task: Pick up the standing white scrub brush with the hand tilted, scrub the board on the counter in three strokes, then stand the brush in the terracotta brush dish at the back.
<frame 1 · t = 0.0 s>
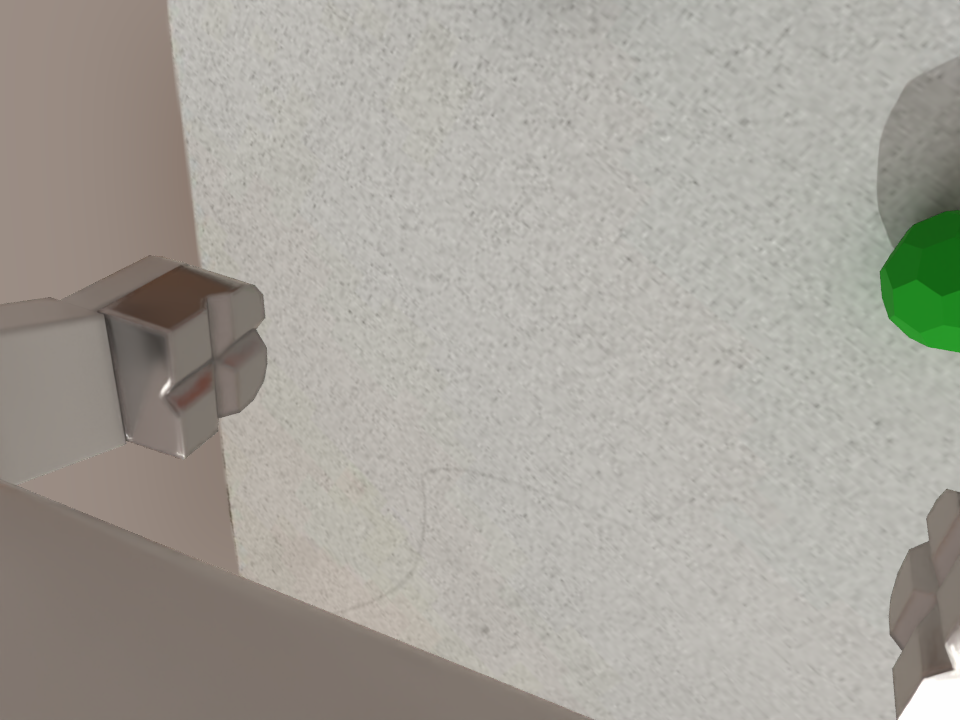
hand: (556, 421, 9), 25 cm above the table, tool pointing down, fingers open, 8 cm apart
polyhedron: (950, 254, 30), on the table
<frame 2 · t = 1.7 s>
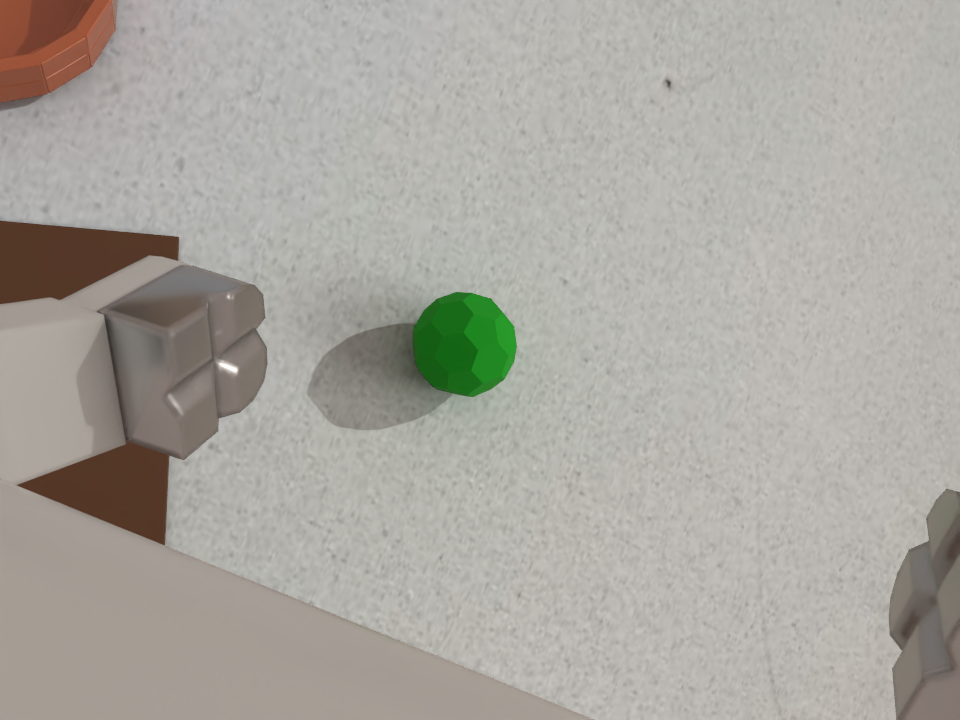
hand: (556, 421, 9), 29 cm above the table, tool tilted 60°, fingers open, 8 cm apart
polyhedron: (447, 356, 40), on the table
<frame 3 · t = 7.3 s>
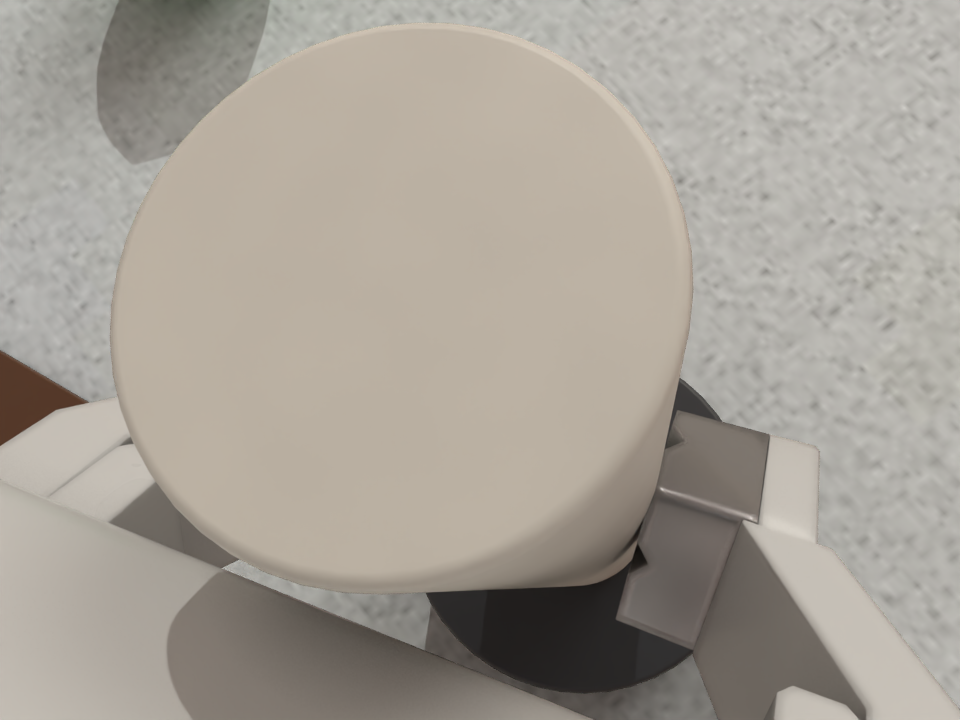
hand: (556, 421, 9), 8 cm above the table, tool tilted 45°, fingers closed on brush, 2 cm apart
brush: (583, 521, 17), on the table, touching gripper
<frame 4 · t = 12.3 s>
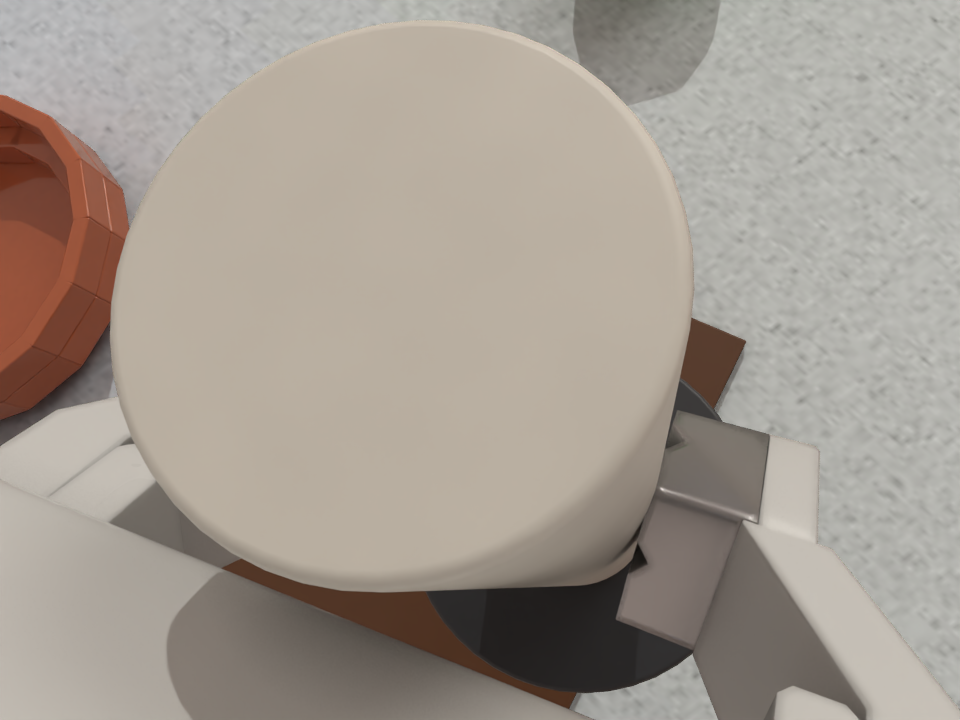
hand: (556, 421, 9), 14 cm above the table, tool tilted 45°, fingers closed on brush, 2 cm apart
brush: (584, 520, 17), point 7 cm above the table, touching gripper
board: (433, 447, 25), on the table
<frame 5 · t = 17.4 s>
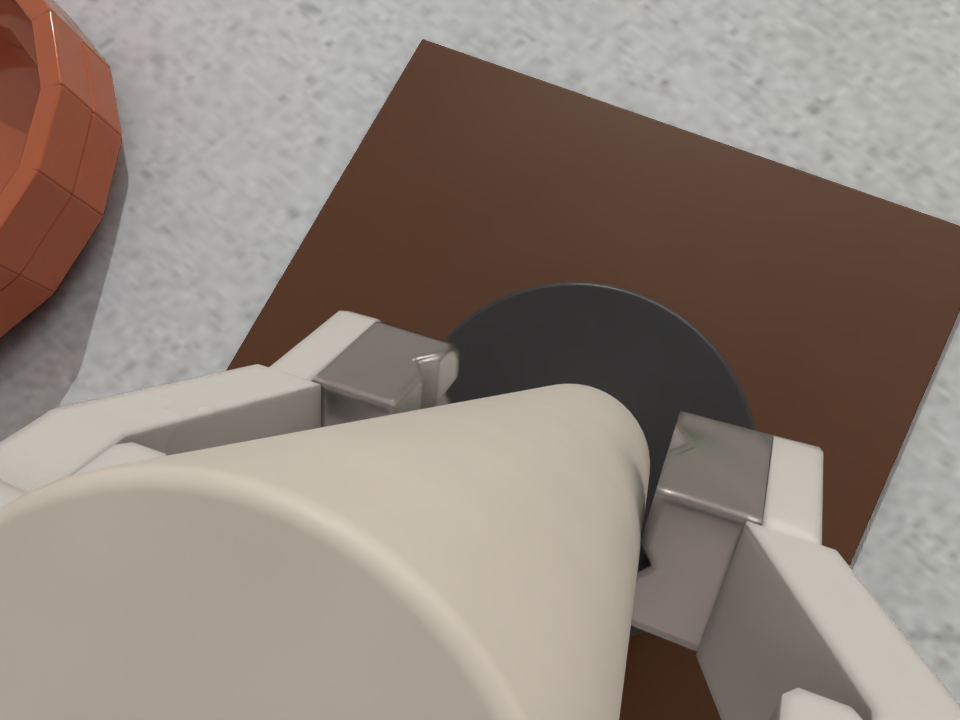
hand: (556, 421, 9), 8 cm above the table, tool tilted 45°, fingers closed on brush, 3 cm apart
brush: (586, 444, 16), point 1 cm above the table, tilted 15°, touching gripper, board
board: (540, 393, 18), on the table
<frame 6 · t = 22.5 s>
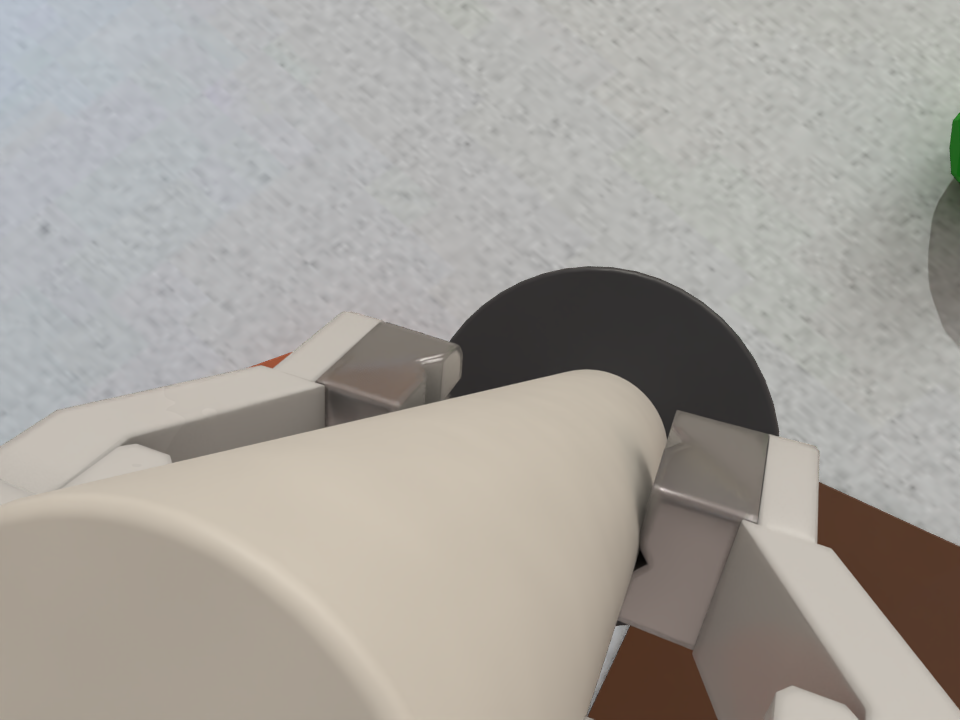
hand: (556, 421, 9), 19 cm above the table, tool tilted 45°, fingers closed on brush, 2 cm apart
brush: (609, 428, 16), point 12 cm above the table, tilted 18°, touching gripper
when the fingers open (8 cm above the table, at t = 27.4 s): brush stays where it is, resting on brush dish.
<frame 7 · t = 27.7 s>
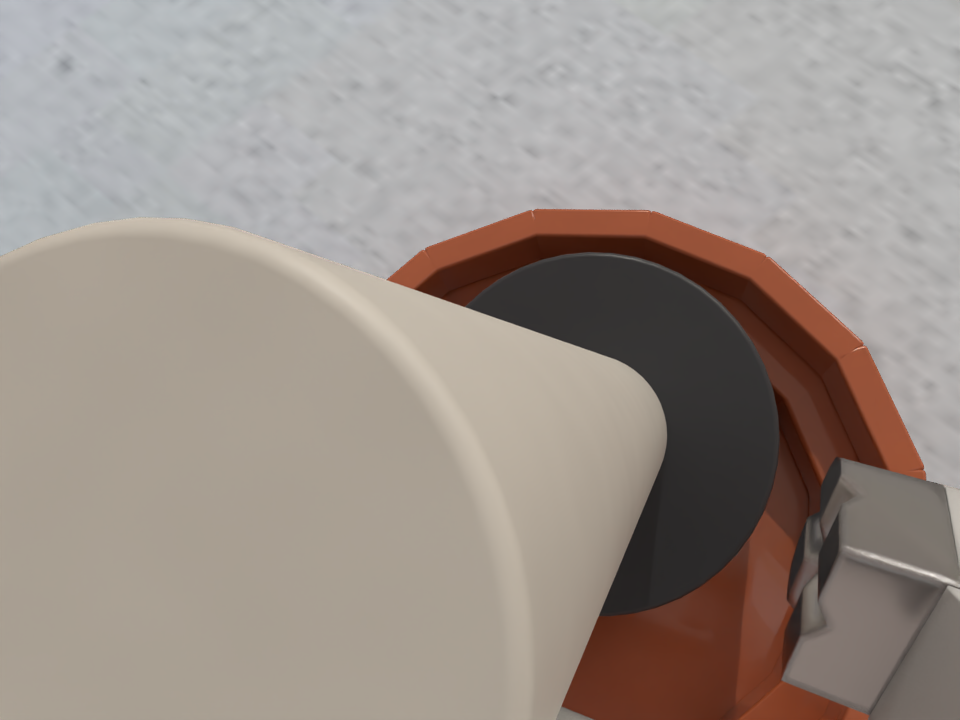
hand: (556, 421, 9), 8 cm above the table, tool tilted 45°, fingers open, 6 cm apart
brush dish: (581, 521, 17), on the table
brush: (605, 424, 16), point 1 cm above the table, tilted 14°, touching brush dish
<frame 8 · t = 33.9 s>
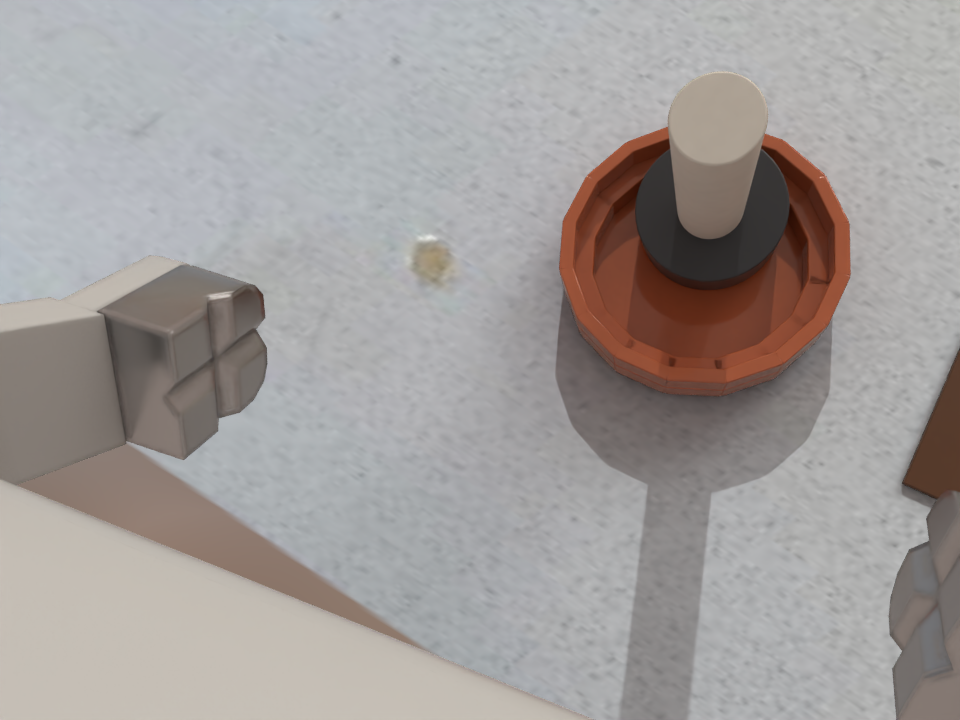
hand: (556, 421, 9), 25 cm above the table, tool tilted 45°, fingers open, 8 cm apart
brush dish: (695, 273, 36), on the table
brush: (709, 222, 35), point 1 cm above the table, tilted 14°, touching brush dish
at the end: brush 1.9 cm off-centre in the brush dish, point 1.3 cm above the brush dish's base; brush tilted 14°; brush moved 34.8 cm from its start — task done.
